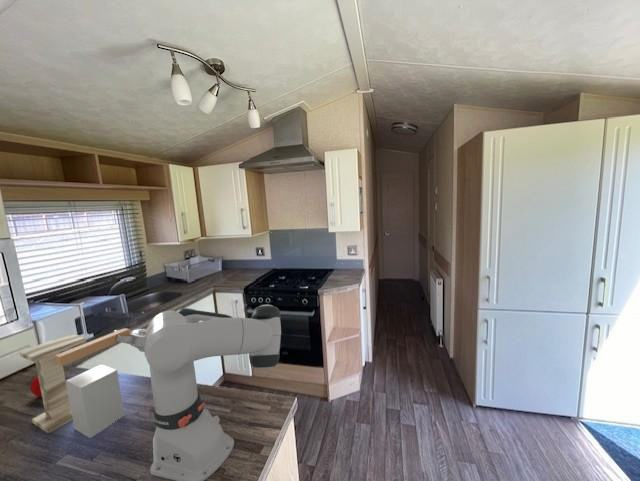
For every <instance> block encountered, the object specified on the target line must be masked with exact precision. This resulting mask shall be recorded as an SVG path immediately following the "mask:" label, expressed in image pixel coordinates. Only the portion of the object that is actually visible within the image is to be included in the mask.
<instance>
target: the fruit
mask: <svg viewBox="0 0 640 481" xmlns="http://www.w3.org/2000/svg"><path fill="white" fill-rule="evenodd" d="M29 387H30V388H29V389H30V392H31V394H32V395H34V396H35V397H37V398H42V393H41V388H40V383H39V378H38V375H37V376H35V378H33V380H32V381H31V383H30V386H29Z"/></svg>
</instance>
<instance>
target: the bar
mask: <svg viewBox="0 0 640 481" xmlns="http://www.w3.org/2000/svg"><path fill="white" fill-rule="evenodd" d="M118 330H119V331H116V332H113V331H112V332H111V333H109V334H106V335H104V336H100V337H98V338H96V339H93V340H91V341H89V342H84V343H82V344H79V345H77V346H74V347H72V348H69V349H67V350H64V351H61V352H60V354H57V355H55V358H56V363H57V365H59V366H63V367H64V366H65V365H68V364H70V363H72V362H75V361H78V360H80V359H82V358H85V357H87V356H88V355H91V354H94V353H96V352H98V351H101V350H103V349H105V348H108V347H110V346H112V345H115V344H117V343H121V342H120V341H116V340H115V338H116V336H117V335H121V336H130V330H131V329H130V328H127V327H126V328H121V329H118Z"/></svg>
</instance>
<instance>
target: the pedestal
mask: <svg viewBox="0 0 640 481" xmlns="http://www.w3.org/2000/svg"><path fill="white" fill-rule="evenodd" d="M65 380H66V379H65ZM66 386H67V391H68V397H69V402H70V407H71V413H72V418H73V420H72V423H73V427H74V428H73V429H74V430H76V431H77V432H79V433H81V434H82V435H84V436H86V437H88V438H89V439H91V438H93V437H94V436H96V435H98V434H99V433H101V432H102V431H104V430H105V429H107V428H108V427H110V426H111V425H113V424H114V423H116V422H118V421H119V420H121V419H122V418H124V417H125V410H124V404H123V398H122V397H123V396H122V393H121V392H122V391H121V386H120V380H119V374H118V369H116V368H113V367H110V366H109V365H104V364H99V365H97V366H94V367H93V368H90V369H88V370H86V371H84V372H81V373H79V374H76V375H75V376H72V377H69V379H67V380H66ZM123 416H124V417H123ZM121 417H122V418H121ZM120 418H121V419H120ZM118 419H119V420H118ZM117 420H118V421H117ZM115 421H116V422H115ZM112 423H113V424H112ZM109 425H110V426H109Z"/></svg>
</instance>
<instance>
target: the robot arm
mask: <svg viewBox="0 0 640 481" xmlns="http://www.w3.org/2000/svg"><path fill="white" fill-rule="evenodd" d="M281 324H282V323H281V310H280V308H278V307H277V306H274V305H272V304H261V305H259V306H256V307H255V308H254V309H253V311H252V313H251V317H250V318H249V317H233V316H231V315H230V314H229V315H228V314H225V313H218V312H213V311H212V312H210V311H205V310H199V309H198V310H197V309H195V308H189V307H180V308H179V309H177V310H170V309H169V310H165V311H161V312H159V313H158V314H156V315H155V316H154V317H153V318H152V319H151V320H150V321H149V323H148V325H147V327H146V328H136V329H130V336H121V335H117V336H116V338H115V340H116V341H120V342H119V343H121V344H122V343H124V344H127V345H130V346H132V347H134V348H135V349H137V350H139V352H142V353H144V358H145V359H146V361H147V364H148V365H149V371H150V385H151V392H152V399H153V405H154V408H153V410H152V411H153V415H152V417H153V421H154V424H155V426H156V427H155V431H154V435H153V439H152V457H153V462H152V464H151V465H150V469H149V472H150V475H151V476H156V477H159V478H164V479H168V480H172V481H205V480H207V479H208V478H210V476H212V475H213V474H214V473H215V472H216V471H217V470H218V469H219V468H220V466H222V464H224V462H225V461H226V460H227V458H228V457H230V454H231V453H232V451H233V449H234V446H235V440H234V439H233V438H232V437H231V436H230V435H228V434H227V433H226V432H224V429H223V426H222V425H221V424H220V422H221V419H220V417H219V416H218V415H215V416H213V415H212V413H210V410H209V409H208V408H205V406H206V402H205V401H204V402H203V400H202V396H201V394H200V392H199V391H198V383H197V377H196V370H195V363H194V362H196V361H199V360H202V359H203V360H204V359H207V358H212V357H224V356H236V355H237V356H239V355H247V354H249V355H248V357H249V358H248V359H249V363H250V366H252V367H253V368H256V369H257V370H262V371H264V370H269V369H272V368H273V367H276V366H277V365H278V363H279V361H280V350H281V336H282V326H281ZM119 330H120V329H114V330H113V331H112V333H113V332H116V331H119Z"/></svg>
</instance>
